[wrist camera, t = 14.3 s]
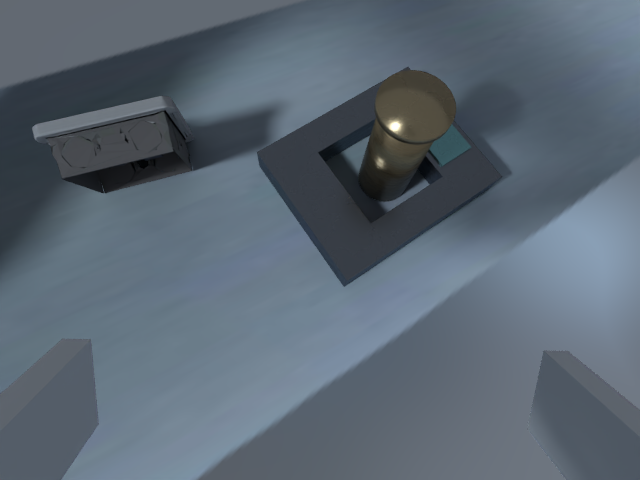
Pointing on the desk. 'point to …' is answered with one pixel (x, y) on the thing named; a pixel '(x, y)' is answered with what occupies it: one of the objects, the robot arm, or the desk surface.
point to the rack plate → (340, 209)
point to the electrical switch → (119, 144)
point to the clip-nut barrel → (404, 131)
